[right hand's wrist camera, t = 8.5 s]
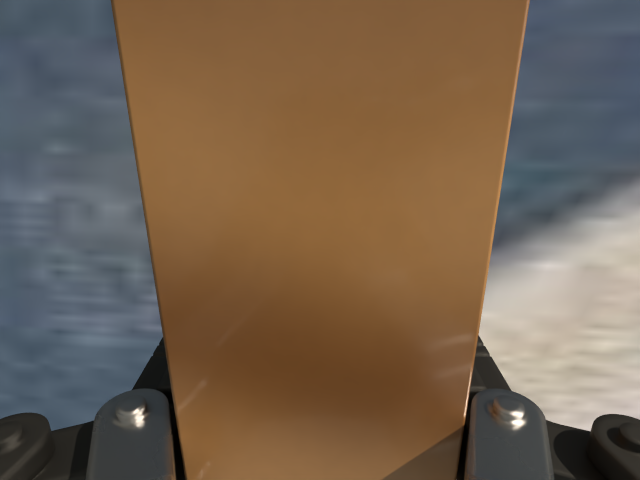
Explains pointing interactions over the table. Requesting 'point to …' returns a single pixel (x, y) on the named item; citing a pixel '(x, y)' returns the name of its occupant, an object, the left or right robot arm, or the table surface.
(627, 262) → the table surface
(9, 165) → the table surface
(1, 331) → the table surface
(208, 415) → the post
